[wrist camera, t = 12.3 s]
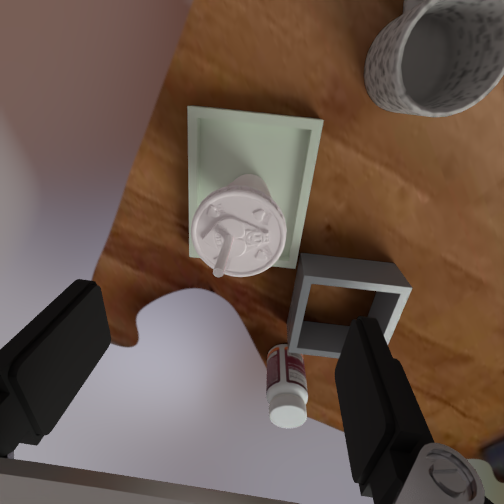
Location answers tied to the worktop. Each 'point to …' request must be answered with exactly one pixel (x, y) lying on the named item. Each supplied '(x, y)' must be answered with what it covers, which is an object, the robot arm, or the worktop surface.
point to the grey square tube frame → (350, 276)
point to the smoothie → (239, 228)
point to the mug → (437, 57)
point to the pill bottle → (286, 387)
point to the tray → (254, 162)
